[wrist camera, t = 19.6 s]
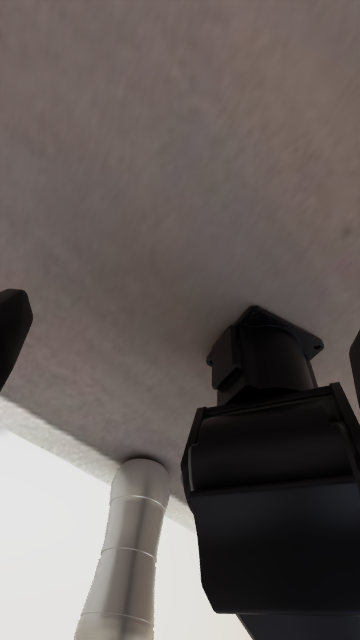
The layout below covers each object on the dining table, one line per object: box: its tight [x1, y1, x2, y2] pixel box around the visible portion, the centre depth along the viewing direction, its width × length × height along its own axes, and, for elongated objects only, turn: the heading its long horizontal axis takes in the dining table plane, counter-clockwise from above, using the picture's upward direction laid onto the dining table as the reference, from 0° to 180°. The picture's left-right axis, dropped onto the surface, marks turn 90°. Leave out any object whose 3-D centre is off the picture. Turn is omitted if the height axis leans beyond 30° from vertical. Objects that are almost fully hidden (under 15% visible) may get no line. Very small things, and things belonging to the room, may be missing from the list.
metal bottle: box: [74, 459, 170, 640], centre depth 30 cm, size 6×7×20 cm
